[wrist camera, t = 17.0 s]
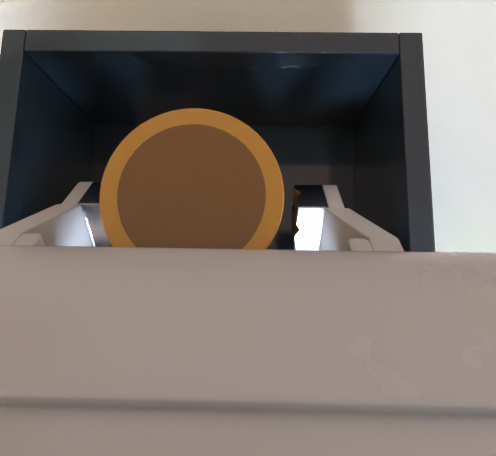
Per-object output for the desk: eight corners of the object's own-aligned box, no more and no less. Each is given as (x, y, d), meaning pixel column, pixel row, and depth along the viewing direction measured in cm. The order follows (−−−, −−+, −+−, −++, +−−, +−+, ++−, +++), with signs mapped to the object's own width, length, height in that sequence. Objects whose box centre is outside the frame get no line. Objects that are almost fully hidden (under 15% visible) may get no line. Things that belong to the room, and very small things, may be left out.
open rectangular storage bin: (363, 121, 20) (422, 32, 13) (371, 370, 18) (446, 423, 11) (88, 117, 20) (2, 28, 13) (67, 364, 18) (-48, 411, 11)
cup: (270, 185, 18) (284, 107, 10) (270, 289, 18) (284, 290, 10) (168, 183, 18) (105, 105, 10) (163, 287, 18) (90, 287, 10)
